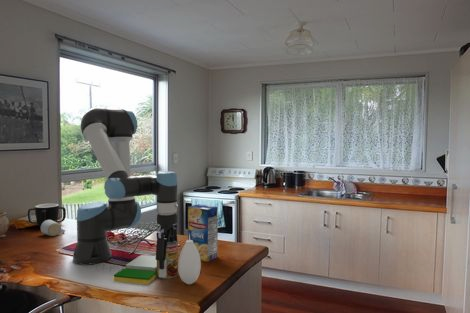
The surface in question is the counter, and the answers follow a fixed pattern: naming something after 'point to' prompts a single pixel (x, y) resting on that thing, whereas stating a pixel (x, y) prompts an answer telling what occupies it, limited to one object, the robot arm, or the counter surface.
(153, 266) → the block
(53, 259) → the counter surface
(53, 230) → the ceramic mug
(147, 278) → the dish sponge
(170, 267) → the canned food
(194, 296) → the counter surface
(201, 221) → the beverage box
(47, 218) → the mug
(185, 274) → the sauce bottle
